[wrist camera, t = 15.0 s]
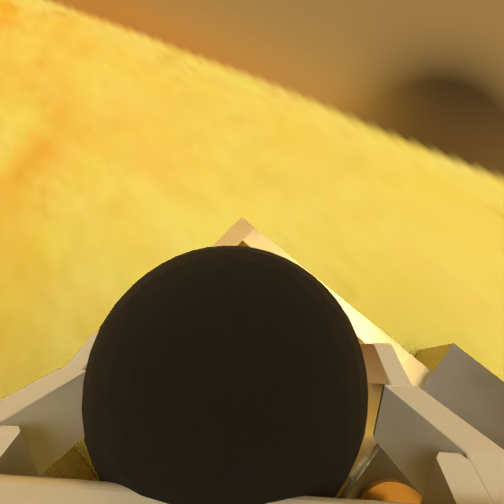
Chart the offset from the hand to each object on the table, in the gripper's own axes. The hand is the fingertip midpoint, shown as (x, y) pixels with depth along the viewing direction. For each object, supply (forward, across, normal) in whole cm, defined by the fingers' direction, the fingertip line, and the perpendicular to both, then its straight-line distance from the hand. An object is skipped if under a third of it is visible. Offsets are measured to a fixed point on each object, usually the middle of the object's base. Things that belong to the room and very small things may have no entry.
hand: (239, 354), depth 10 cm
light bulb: (+3, 0, +4) cm, 5 cm away
